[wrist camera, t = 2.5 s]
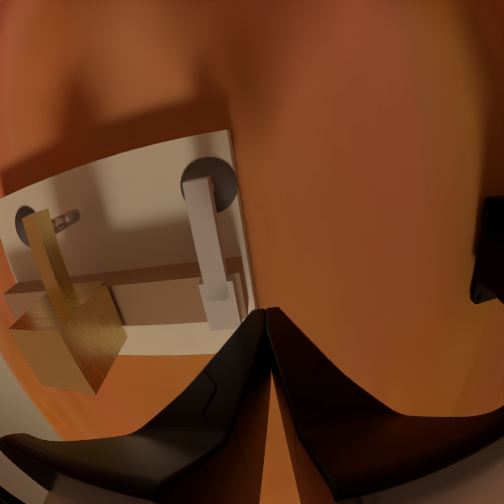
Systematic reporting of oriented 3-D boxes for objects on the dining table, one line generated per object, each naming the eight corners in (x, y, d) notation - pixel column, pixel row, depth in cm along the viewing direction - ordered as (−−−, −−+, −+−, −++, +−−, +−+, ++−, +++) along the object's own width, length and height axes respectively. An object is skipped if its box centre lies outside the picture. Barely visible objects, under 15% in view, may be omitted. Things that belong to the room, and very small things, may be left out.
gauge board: (232, 130, 11) (222, 126, 8) (263, 334, 15) (264, 380, 12) (4, 198, 12) (-34, 214, 9) (56, 339, 16) (33, 369, 13)
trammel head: (99, 188, 10) (17, 226, 6) (139, 318, 13) (95, 395, 8) (50, 203, 11) (-27, 241, 6) (90, 319, 13) (42, 385, 8)
